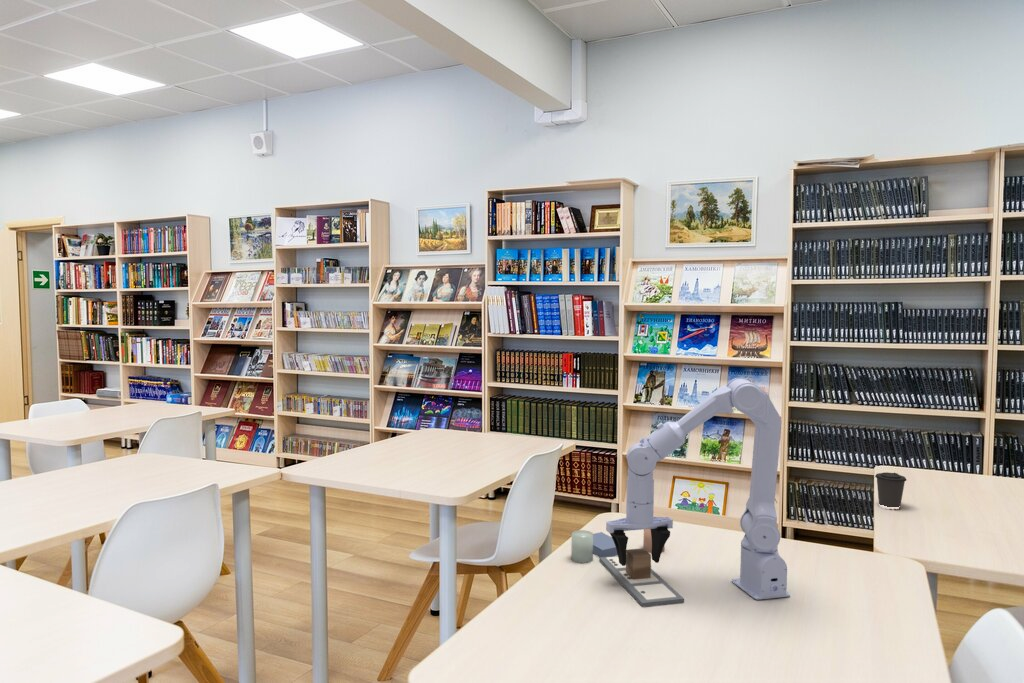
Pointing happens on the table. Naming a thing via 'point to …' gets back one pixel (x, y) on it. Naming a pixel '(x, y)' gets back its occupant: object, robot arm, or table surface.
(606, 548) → the slate blue flat block
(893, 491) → the coffee cup
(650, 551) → the peach dome-topped cylinder
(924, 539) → the table surface
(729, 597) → the table surface
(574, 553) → the sage dome-ended cylinder
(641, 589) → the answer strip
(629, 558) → the block
